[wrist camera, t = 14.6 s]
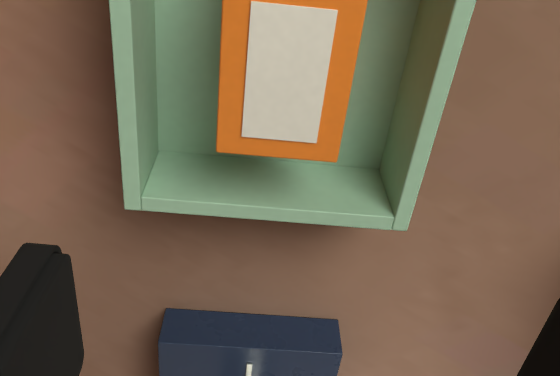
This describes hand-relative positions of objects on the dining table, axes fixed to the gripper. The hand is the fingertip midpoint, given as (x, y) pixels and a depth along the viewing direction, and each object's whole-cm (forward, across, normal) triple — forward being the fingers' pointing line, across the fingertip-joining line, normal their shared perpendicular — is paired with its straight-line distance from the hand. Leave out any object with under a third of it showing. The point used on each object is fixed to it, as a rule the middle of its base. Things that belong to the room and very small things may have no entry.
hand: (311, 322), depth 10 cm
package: (+17, +1, -1) cm, 17 cm away
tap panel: (+19, 0, +23) cm, 30 cm away
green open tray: (+18, +1, -1) cm, 18 cm away
